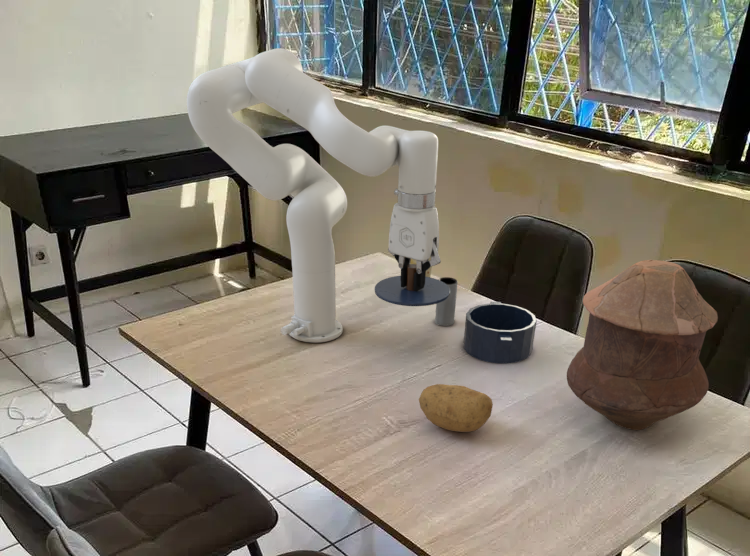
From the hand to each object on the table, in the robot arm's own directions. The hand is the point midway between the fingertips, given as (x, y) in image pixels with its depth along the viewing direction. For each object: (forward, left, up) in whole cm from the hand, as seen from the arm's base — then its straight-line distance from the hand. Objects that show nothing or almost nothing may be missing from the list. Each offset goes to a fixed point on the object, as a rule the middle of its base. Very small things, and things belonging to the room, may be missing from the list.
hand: (412, 286), depth 166 cm
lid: (0, 0, -1) cm, 1 cm away
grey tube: (+16, +1, -14) cm, 21 cm away
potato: (-23, -27, -14) cm, 38 cm away
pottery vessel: (+2, -51, -14) cm, 53 cm away
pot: (+12, -16, -14) cm, 24 cm away
